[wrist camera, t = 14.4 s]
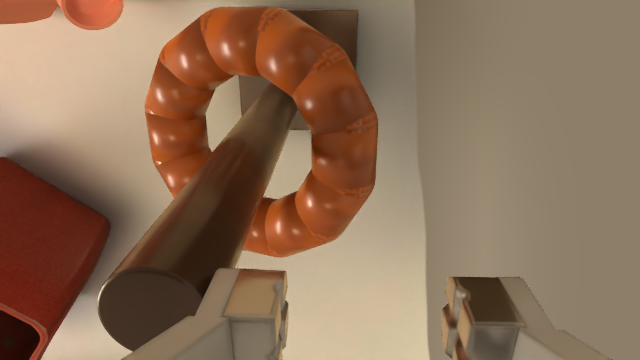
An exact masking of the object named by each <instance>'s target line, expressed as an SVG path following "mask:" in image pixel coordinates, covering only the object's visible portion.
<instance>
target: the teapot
mask: <svg viewBox="0 0 640 360" xmlns="http://www.w3.org/2000/svg"><path fill="white" fill-rule="evenodd" d="M58 5H59V6H60V8H61V10H62V11H63V13H64V14H65V16H66V18H67V19H68V20H69V21H70V22H71V23H73V24H74V25H76V26H78V27H80V28H83V29H86V30H100V29H104V28H107V27H109V26H111V25H112V24H114V23H115V22H116V21H117V20H118V18H119V17H120V15H121V13H122V11H123V0H0V24H16V23H27V22H33V21H38V20H42V19H45V18H49V17H50V16H51V15H52V14H53V12H54V11H55V9H56V7H57V6H58Z"/></svg>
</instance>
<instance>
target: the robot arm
mask: <svg viewBox="0 0 640 360" xmlns="http://www.w3.org/2000/svg"><path fill="white" fill-rule="evenodd" d="M287 288H288V285H287V273H286V271H277V270H258V269H239V268H219V269H218V270H217V271H216V272H215V274H214V276H213V278H212V280H211V283H210V285H209V287H208V289H207V291H206V293H205V295H204V297H203V300H202V302H201V304H200V306H199V308H198V310H197V312H196V315H195V316H187V317H186V318H184V319H183V320H181V321H180V322H178V323H176V324H175V325H173V326H172V327H170V328H169V329H167V330H166V331H164V332H163V333H161V334H160V335H158V336H156V337H155V338H153V339H152V340H150V341H149V342H147V343H146V344H144V345H143V346H141V347H140V348H138V349H136V350H135V351H133V352H132V353H130V354H129V355H127V356H126V357H124V358H123V359H121V360H283V356H282V350H283V349H284V348H285V347H286V340H287V331H288V303H287V301H286V300H285V299H286V293H287ZM445 294H446V297H447V300H448V304H447V305H446V306H445V307H444V308H443V310H442V319H441V332H442V333H441V334H442V341H443V345H444V349H445V353H446V354H447V355H448V356H449V357H450V358H452V360H612V359H610V358H609V357H607V356H605V355H604V354H602V353H600V352H599V351H597V350H595V349H594V348H592V347H591V346H589V345H587V344H586V343H584V342H582V341H581V340H579V339H577V338H576V337H575V336H573V335H571V334H570V333H568V332H566V331H565V330H556V328H555V327H554V325H553V324H552V322H551V321H550V319H549V318H548V316H547V315H546V313H545V312H544V310H543V308H542V307H541V305H540V304H539V302H538V301H537V299H536V298H535V296H534V295H533V293H532V292H531V290H530V288H529V287H528V285H527V284H526V282H525V281H524V279H522V278H520V277H496V278H490V277H489V278H488V277H449V278H448V280H447V283H446V289H445Z"/></svg>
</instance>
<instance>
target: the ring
mask: <svg viewBox="0 0 640 360" xmlns="http://www.w3.org/2000/svg"><path fill="white" fill-rule="evenodd" d="M235 75H246V76H262V77H264V78H266V79H267V80H268V81H270V82H271V83H273V84H274V85H276V86H277V87H278V88H280V89H281V90H283V91H284V92H286V93H287V94H288V95H290V96H291V97H293V99H294V101H295V103H296V105H297V107H298V109H299V110H300V112H301V114H302V116H303V118H304V120H305V122H306V124H307V126H308V128H309V129H310V131H311V134H312V169H311V171H310V172H309V174H308V175H307V177H306V179H305V180H304V182H303V184H302V185H301V187H300V189H299V190H298V191H296V192H294V193H291V194H289V195H287V196H284V197H282V198H280V199H272V198H266V197H263V198H262V201H261V204H260V206H259V209H258V211H257V214H256V216H255V219H254V221H253V224H252V226H251V229H250V231H249V234H248V236H247V239H246V241H245V244H244V246H243V249H242V250H247V251H251V252H256V253H260V254H265V255H269V256H273V257H287V256H291V255H294V254H296V253H299V252H302V251H305V250H308V249H311V248H314V247H317V246H320V245H323V244H326V243H329V242H331V241H333V240H335V239H336V238H338V237H339V236H340V235H341V234H342V233H343V232H344V230H345V229H346V227H347V226H348V225H349V223H350V222H351V220H352V219H353V218H354V216H355V215H356V214H357V212H358V211H359V209H360V208H361V207H362V205H363V204H364V202H365V201H366V200H367V198H368V197H369V196H370V194H371V192H372V190H373V188H374V185H375V178H376V159H377V138H378V118H377V114H376V111H375V109H374V107H373V105H372V103H371V101H370V99H369V97H368V95H367V93H366V91H365V89H364V87H363V85H362V83H361V81H360V79H359V77H358V75H357V73H356V71H355V69H354V67H353V65H352V63H351V61H350V59H349V57H348V55H347V54H346V52H345V51H344V50H343V49H342V48H341V47H340V46H339V45H338V44H336V43H335V42H333V41H332V40H330V39H329V38H327V37H326V36H324V35H323V34H322V33H320V32H319V31H317V30H316V29H314V28H313V27H311V26H310V25H308V24H307V23H305V22H304V21H302V20H301V19H299V18H298V17H296V16H295V15H293V14H292V13H290V12H289V11H287V10H285V9H282V8H277V7H218V8H214V9H211V10H209V11H207V12H205V13H204V14H203V15H201V16H200V17H199V18H198V19H196V20H195V21H194V22H193V23H191V24H190V25H189V26H188V27H186V28H185V29H184V30H183V31H181V32H180V33H179V34H178V35H176V36H175V37H174V38H173V39H171V40H170V41H169V42H168V43H167V44H166V45H165V46H164V47H163V49H162V51H161V53H160V55H159V58H158V61H157V65H156V68H155V71H154V74H153V77H152V81H151V84H150V87H149V90H148V93H147V96H146V100H145V114H146V121H147V127H148V134H149V140H150V146H151V153H152V159H153V162H154V164H155V167H156V168H157V170H158V172H159V173H160V175H161V177H162V178H163V180H164V182H165V183H166V185H167V187H168V188H169V190H170V192H171V193H172V195H173V197H174V198H175V197H176V196H177V195H178V193H179V192H180V191H181V190H182V189H183V187H184V186H185V185H186V184H187V183H188V181H189V180H190V179H191V178H192V177H193V175H194V174H195V173H196V172H197V171H198V169H199V168H200V167H201V166H202V165H203V163H204V162H205V161H206V160H207V159H208V157H209V156H210V155H211V154H212V151H211V149H210V148H209V145H208V135H207V125H206V115H205V113H206V111H207V108H208V106H209V103H210V101H211V98H212V96H213V93H214V91H215V88H216V87H218V86H219V85H221V84H222V83H224V82H225V81H227V80H228V79H230V78H231V77H233V76H235Z"/></svg>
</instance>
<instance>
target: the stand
mask: <svg viewBox="0 0 640 360" xmlns="http://www.w3.org/2000/svg"><path fill="white" fill-rule="evenodd" d="M287 11H289V12H290V13H292V14H293V15H295V16H296V17H298V18H299V19H301V20H302V21H304V22H305V23H307V24H308V25H310V26H311V27H313V28H314V29H316V30H317V31H319V32H320V33H322V34H323V35H324V36H326V37H327V38H329V39H330V40H332V41H333V42H335V43H336V44H338V45H339V46H340V47H341V48H342V49H343V50H344V51H345V52H346V54H347V55H348V57H349V59H350V61H351V63H352V65H353V67H354V69H355V71H356V52H357V23H358V11H357V10H287ZM239 84H240V98H241V112H242V118H241V119H240V120H239V121H238V122H237V124H236V125H235V126H234V127H233V128H232V130H231V131H230V132H229V133H228V134H227V136H226V137H225V138H224V139H223V140H222V142H221V143H220V144H219V145H218V146H217V148H216V149H215V150H214V151H213V152H212V154H211V155H210V156H209V157H208V159H207V160H206V161H205V162H204V163H203V165H202V166H201V167H200V168H199V169H198V171H197V172H196V173H195V174H194V175H193V177H192V178H191V179H190V180H189V181H188V183H187V184H186V185H185V186H184V187H183V189H182V190H181V191H180V192H179V193H178V195H177V196H176V197H175V198H174V200H173V201H172V202H171V203H170V204H169V206H168V207H167V208H166V209H165V210H164V212H163V213H162V214H161V215H160V216H159V218H158V219H157V220H156V221H155V222H154V224H153V225H152V226H151V227H150V228H149V230H148V231H147V232H146V233H145V234H144V236H143V237H142V238H141V239H140V241H139V242H138V243H137V244H136V245H135V247H134V248H133V249H132V250H131V251H130V253H129V254H128V255H127V256H126V257H125V259H124V260H123V261H122V262H121V263H120V265H119V266H118V267H117V268H116V269H115V271H114V272H113V273H112V274H111V275H110V277H109V278H108V279H107V280H106V282H105V283H104V284H103V286H102V287H101V289H100V292H99V295H98V301H97V309H98V314H99V317H100V320H101V322H102V324H103V326H104V328H105V329H106V331H107V332H108V333H109V334H110V335H111V337H112V338H114V339H115V340H116V341H117V342H118V343H119V344H121V345H122V346H124V347H125V348H127V349H129V350H131V351H135V350H136V349H138V348H140V347H141V346H143V345H144V344H146V343H147V342H149V341H150V340H152V339H153V338H155V337H156V336H158V335H160V334H161V333H163V332H164V331H166V330H167V329H169V328H170V327H172V326H173V325H175V324H176V323H178V322H180V321H181V320H183V319H184V318H186V317H187V316H195V315H196V312H197V310H198V308H199V306H200V304H201V302H202V300H203V297H204V295H205V293H206V291H207V289H208V287H209V285H210V283H211V280H212V278H213V276H214V274H215V272H216V271H217V270H218V269H219V268H235V267H236V264H237V262H238V259H239V256H240V254H241V251H242V249H243V246H244V244H245V241H246V239H247V236H248V234H249V231H250V229H251V226H252V224H253V221H254V219H255V216H256V214H257V211H258V209H259V206H260V204H261V201H262V198H263V196H264V193H265V191H266V188H267V186H268V183H269V181H270V178H271V176H272V173H273V171H274V168H275V166H276V163H277V161H278V158H279V156H280V153H281V151H282V148H283V146H284V143H285V140H286V138H287V135H288V133H289V130H310V129H309V128H308V126H307V124H306V122H305V120H304V118H303V116H302V114H301V112H300V110H299V109H298V107H297V105H296V103H295V101H294V99H293V97H291V96H290V95H288V94H287V93H286V92H284V91H283V90H281V89H280V88H278V87H277V86H276V85H274V84H273V83H271V82H270V81H268V80H267V79H266V78H264V77H262V76H246V75H239Z"/></svg>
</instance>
